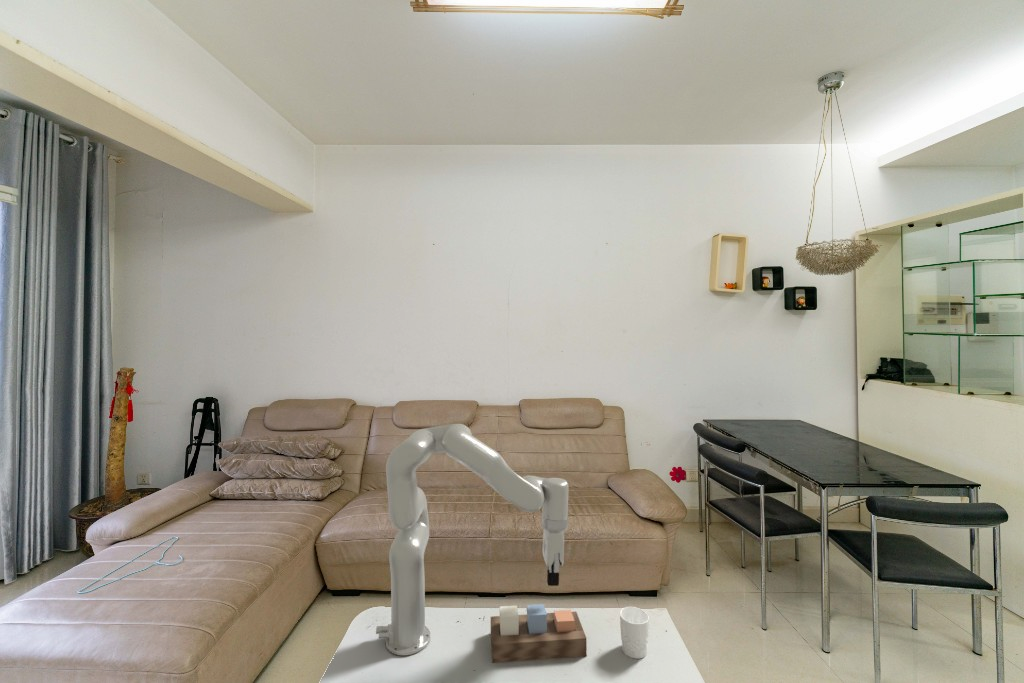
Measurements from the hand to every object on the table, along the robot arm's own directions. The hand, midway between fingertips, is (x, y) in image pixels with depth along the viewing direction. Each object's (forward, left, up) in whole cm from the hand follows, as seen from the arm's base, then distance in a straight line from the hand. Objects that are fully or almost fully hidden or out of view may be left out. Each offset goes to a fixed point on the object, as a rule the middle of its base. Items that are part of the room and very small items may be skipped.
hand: (552, 584), depth 128 cm
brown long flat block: (-5, -2, -16) cm, 17 cm away
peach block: (+3, -2, -14) cm, 14 cm away
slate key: (-5, -2, -12) cm, 13 cm away
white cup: (+22, -7, -16) cm, 28 cm away
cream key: (-13, -2, -12) cm, 18 cm away
